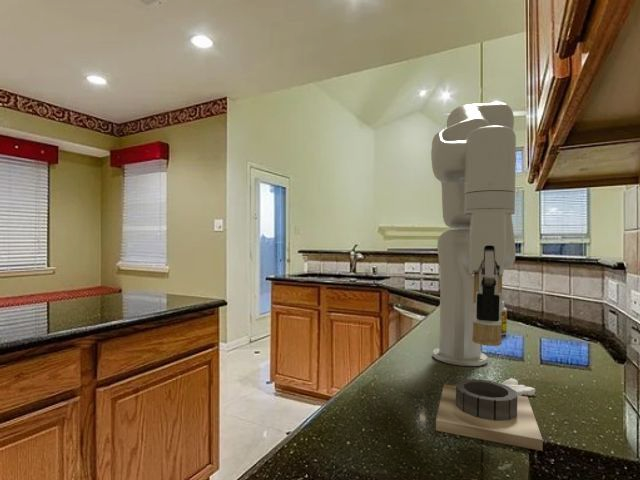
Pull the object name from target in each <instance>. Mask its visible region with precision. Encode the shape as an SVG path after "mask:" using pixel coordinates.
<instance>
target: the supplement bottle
mask: <svg viewBox="0 0 640 480" xmlns="http://www.w3.org/2000/svg"><path fill="white" fill-rule="evenodd" d="M507 321H508V309H507V308H506V307H505V301H503V300H502V324H501V336H504V335H505V336H506V334H507V329H508V328H507V325H508V323H507Z"/></svg>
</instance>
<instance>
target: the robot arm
mask: <svg viewBox="0 0 640 480" xmlns="http://www.w3.org/2000/svg"><path fill="white" fill-rule="evenodd" d="M514 126H515V116H514V111H513V109H512V108H511V107H510V105H509V104H507V103H504V102H490V103H489V102H488V103H486V102H485V103H472V104H471V103H470V104H464V105H460V106H458V107H456V108H454V109H453V110H452V111H451V112H450V113H449V114H448V117H447V119H446V128H444V129H441V130H440V131H439V132H436V134H434V137H433V138H432V142H431V153H430V154H431V156H430V157H431V159H430V160H431V168H432V173H433V175H434V178H435V179H436V180H437V181H440V183H441V201H442V202H441V204H442V205H441V207H442V219H443V222H444V224H445V226H447V228H450V229H449V230H446V231H444V232H442V233H441V234H440V235H439V237H438V239H437V255H438V262H439V273H440V274H439V276H440V277H439V279H440V280H439V283H440V285H439V286H440V288H439V289H440V291H439V292H440V293H439V294H440V295H439V297H440V299H439V300H440V301H439V346H438V347H435V348H434V349H433V350H432V357H433V358H434V359H436V360H437V361H440V362H442V363H445V364H450V365H456V366H461V367H479V366H483V365H486V364H487V363H488V361H489V360H488V359H489V357H488V356H487V354H485V353H483V352H482V345H481V344H477V343H474V342H473V341H472V337H473V296H474V271H478V270H479V294H477V319H478V320H484V321H499V295H498V276H500V275H502V274H503V275H504V272H503V270H506V269H509V268H511V267H512V266H513V264H514V263H515V260H516V252H517V251H516V249H517V248H516V240H515V239H516V238H515V233H514V231H515V230H514V224H513V216H512V215H515V213H516V212H515V211H516V162H517V154H516V153H517V152H516V151H517V149H516V148H517V137H516V136H517V135H516V133H515V131H514ZM498 265H500V270H499V271H498ZM482 271H485V274H482ZM494 271H495V275H494ZM498 272H499V274H498ZM482 285H483V290H482ZM482 292H483V294H482Z"/></svg>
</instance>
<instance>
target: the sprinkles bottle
mask: <svg viewBox="0 0 640 480" xmlns="http://www.w3.org/2000/svg"><path fill="white" fill-rule="evenodd" d="M499 270H500V265H498V271H499ZM504 270H505V269H504ZM504 270H503V274H502V275H500V276H498V295H499V321H484V320H478V319H477V294H479V270H478V271H474V275H473V276H474V296H473V337H472V341H473V342H474V343H477V344H481V346H487V347H488V346H489V347H498V346H501V345H502V343H503V341H502V335H501V324H502V301H503V276H504ZM482 274H485V271H482ZM498 274H499V272H498ZM494 275H495V271H494ZM482 290H483V285H482ZM482 294H483V292H482Z"/></svg>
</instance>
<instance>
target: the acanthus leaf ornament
mask: <svg viewBox="0 0 640 480" xmlns="http://www.w3.org/2000/svg"><path fill="white" fill-rule="evenodd" d="M500 384H503V385H506V386H508V387H510V388H512V389H513V390H515V391H516V393H517V395H518V396H523V395H524V396H534V395H535V391H536V388H535V387H531V386H526V385H525V384H519V382H518V380H517V379H515V378H513V377H509V378H508V379H506V380H505V381H503V382H500Z"/></svg>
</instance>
